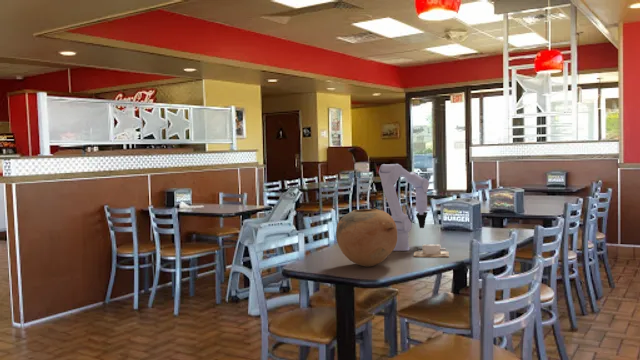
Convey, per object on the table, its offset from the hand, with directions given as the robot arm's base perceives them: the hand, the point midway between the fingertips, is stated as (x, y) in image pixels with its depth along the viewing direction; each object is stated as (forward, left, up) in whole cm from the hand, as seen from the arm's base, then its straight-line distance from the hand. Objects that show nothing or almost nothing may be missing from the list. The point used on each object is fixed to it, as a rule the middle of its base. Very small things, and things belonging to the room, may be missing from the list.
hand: (422, 227), depth 292 cm
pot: (-22, -53, -10) cm, 58 cm away
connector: (+5, -28, -9) cm, 30 cm away
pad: (+5, -28, -9) cm, 30 cm away
